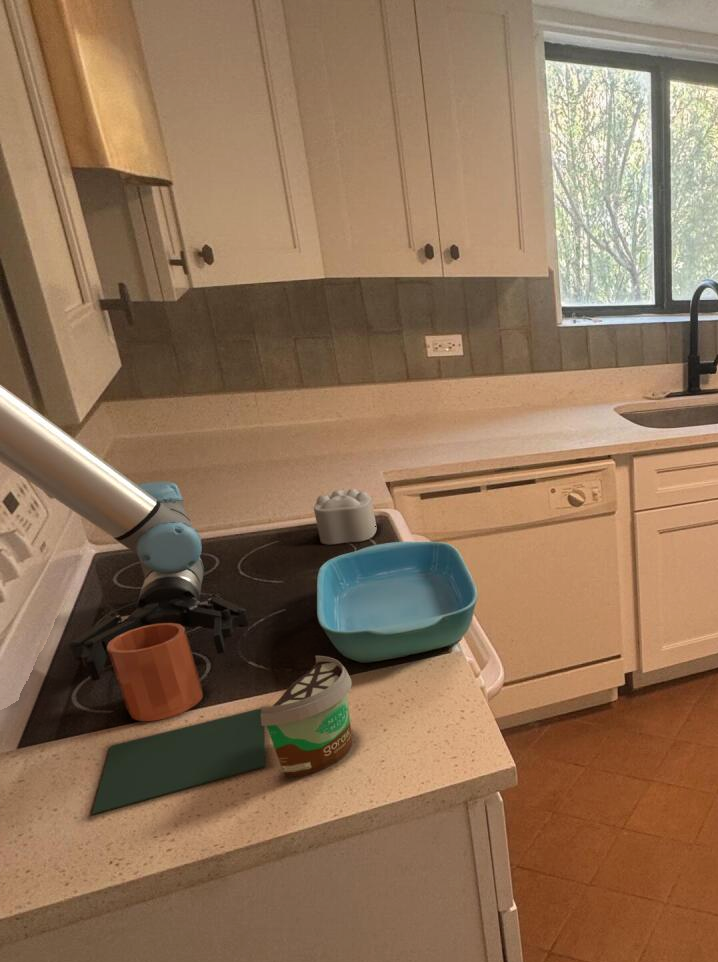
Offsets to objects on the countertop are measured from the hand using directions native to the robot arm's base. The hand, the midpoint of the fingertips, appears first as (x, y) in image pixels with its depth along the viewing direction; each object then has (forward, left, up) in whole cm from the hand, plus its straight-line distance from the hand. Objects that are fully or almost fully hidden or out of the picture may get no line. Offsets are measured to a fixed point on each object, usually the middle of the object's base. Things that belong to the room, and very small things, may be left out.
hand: (157, 657), depth 103 cm
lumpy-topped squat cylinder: (-57, +27, -6) cm, 64 cm away
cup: (+2, 0, -6) cm, 6 cm away
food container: (+25, +18, -6) cm, 31 cm away
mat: (+17, +3, -6) cm, 18 cm away
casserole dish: (-8, +30, -6) cm, 32 cm away
